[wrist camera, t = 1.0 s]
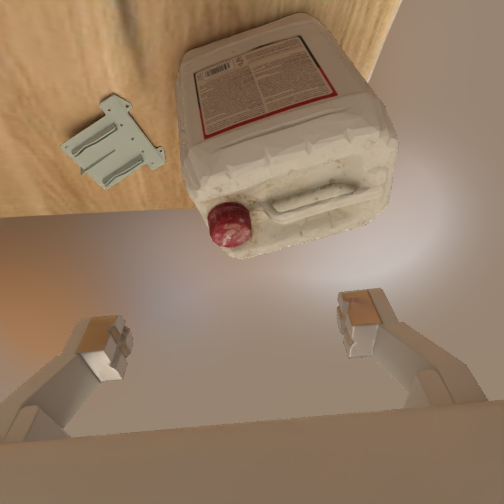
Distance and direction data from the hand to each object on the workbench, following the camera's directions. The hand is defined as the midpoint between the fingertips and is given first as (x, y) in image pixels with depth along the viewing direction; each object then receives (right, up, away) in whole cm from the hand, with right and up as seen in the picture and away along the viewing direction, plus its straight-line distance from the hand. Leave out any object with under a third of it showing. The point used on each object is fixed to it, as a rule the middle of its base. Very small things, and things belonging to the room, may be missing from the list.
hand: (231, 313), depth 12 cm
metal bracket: (-24, +22, +46) cm, 57 cm away
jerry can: (+1, +31, +42) cm, 52 cm away
